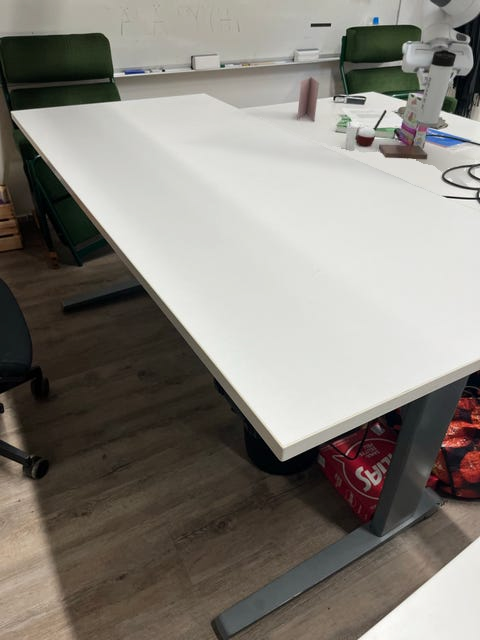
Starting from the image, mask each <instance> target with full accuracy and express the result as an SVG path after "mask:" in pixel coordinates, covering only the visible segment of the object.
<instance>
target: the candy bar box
mask: <svg viewBox="0 0 480 640" xmlns="http://www.w3.org/2000/svg"><path fill="white" fill-rule="evenodd" d="M422 97H423V93H422V92H409V93H408V96H407V100H406V104H405V109H404V112H403V117H402V121H401V127H400V130H399V133H398V134H399V135H398V139H397V140H398V141H399V142H401V143H402V144H403V145H409V146H420V147H421V148H422V149H423V150H424V147H425V144H426V140H427V136H428V133H429V129H430V127H423V126H420V125H417V124H416V121H417V118H418V113H419V109H420V105H421V101H422Z"/></svg>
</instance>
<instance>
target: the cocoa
mask: <svg viewBox="0 0 480 640" xmlns="http://www.w3.org/2000/svg"><path fill="white" fill-rule="evenodd" d="M387 112H388V111H387V110H386V109H384V110H383V112H382V114H381V115H380V116H379V119H378V120H377V122H376V124H375V125H374V127H370V126H362V127H360V130H359V134H358V137H357V141H356V144H357V145H358V146H360V147H370V146H372V144H373V143H374V141H375V137H376V134H377V131H376V130H377V129H378V127H379V125H380V124H381V122H382V120H383V119H384V117H385V115H386V114H387Z"/></svg>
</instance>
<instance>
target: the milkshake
mask: <svg viewBox="0 0 480 640" xmlns="http://www.w3.org/2000/svg"><path fill="white" fill-rule="evenodd" d="M361 126H362V125H361V124H360V123H359V122H358V121H350V120H348V122H347V123H346V134H345V146H344V150H345V149H346V150H345V151H347V150H349V151H348V152H354V151H355V148H356V145H357V143H356V142H357V137H358V134H359V130H360V128H362V127H361ZM353 150H354V151H353Z"/></svg>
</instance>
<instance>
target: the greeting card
mask: <svg viewBox="0 0 480 640" xmlns="http://www.w3.org/2000/svg"><path fill="white" fill-rule="evenodd" d="M319 85H320V82H319V81H317V80H316V79H315V78H313V77H312V76H309V77H308V78H306V79H304V80H302V81H300V86H299V87H300V89H299V99H298V109H297V116H296V117H297V120H298V119H299V120H300V118H301V117H302V118H304V117H305V116H308V117H309V119H310V120H311V121H313V122H315V119H316V112H317V111H316V110H317V103H318V93H319V88H320V87H319ZM306 114H307V115H306ZM303 116H304V117H303ZM302 118H301V119H302ZM297 120H296V121H297ZM299 120H298V121H299Z"/></svg>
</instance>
